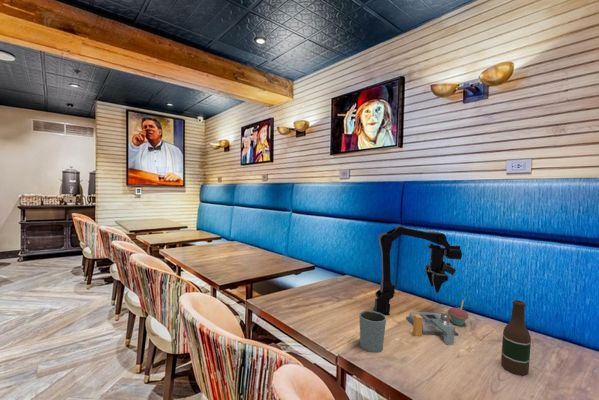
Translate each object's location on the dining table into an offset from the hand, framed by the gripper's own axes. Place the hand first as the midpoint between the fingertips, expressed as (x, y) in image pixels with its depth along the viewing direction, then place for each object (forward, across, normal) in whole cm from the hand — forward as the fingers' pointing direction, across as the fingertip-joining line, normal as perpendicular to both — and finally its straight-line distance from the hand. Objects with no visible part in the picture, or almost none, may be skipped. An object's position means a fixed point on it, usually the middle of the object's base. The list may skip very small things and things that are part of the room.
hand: (434, 289), depth 140 cm
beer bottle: (+14, -38, -18) cm, 44 cm away
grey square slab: (+14, -15, +2) cm, 20 cm away
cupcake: (+14, -4, -10) cm, 18 cm away
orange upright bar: (+14, -21, +11) cm, 28 cm away
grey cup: (+15, -36, +31) cm, 50 cm away
